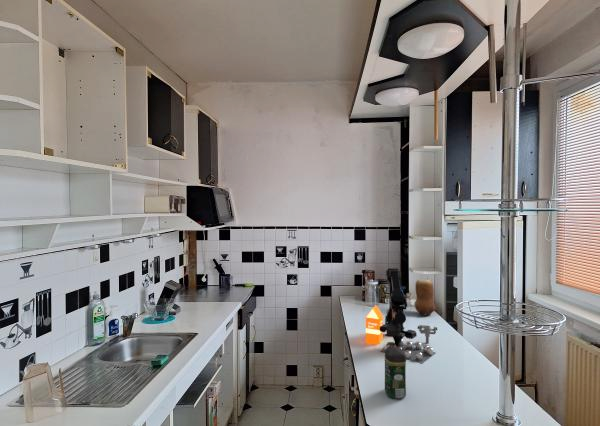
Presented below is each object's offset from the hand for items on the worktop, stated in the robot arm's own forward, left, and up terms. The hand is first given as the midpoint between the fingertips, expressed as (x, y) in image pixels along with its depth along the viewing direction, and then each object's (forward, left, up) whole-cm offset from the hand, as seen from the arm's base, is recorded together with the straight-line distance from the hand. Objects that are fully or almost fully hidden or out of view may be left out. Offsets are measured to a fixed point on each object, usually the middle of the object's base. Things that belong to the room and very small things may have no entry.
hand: (397, 347), depth 201 cm
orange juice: (-16, +3, -2) cm, 16 cm away
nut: (-3, -1, -1) cm, 3 cm away
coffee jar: (+20, -43, -2) cm, 48 cm away
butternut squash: (-15, +71, -2) cm, 73 cm away
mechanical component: (+8, +19, -2) cm, 21 cm away
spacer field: (+6, 0, -2) cm, 6 cm away
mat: (+6, 0, -2) cm, 6 cm away
